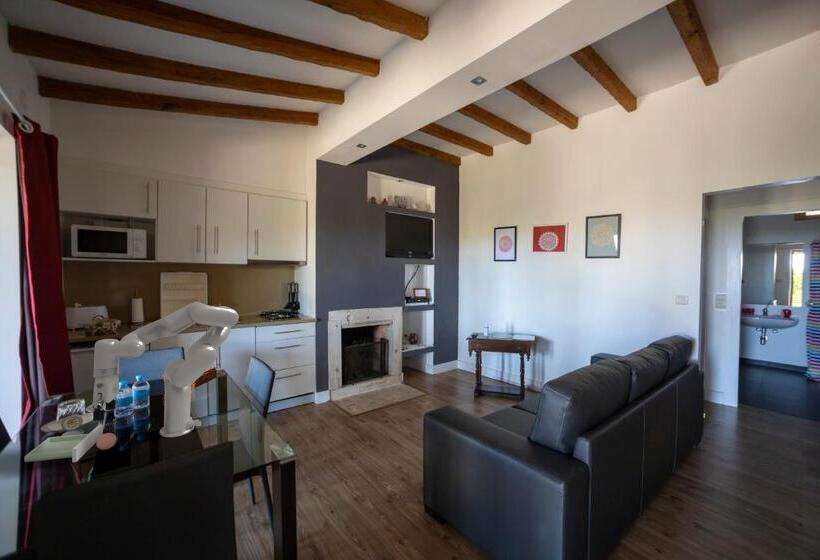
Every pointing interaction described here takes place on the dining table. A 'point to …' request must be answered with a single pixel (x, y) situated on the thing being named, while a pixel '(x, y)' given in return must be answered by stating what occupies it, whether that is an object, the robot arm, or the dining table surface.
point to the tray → (55, 448)
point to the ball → (106, 441)
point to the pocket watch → (74, 424)
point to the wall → (86, 443)
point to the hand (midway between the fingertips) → (104, 414)
